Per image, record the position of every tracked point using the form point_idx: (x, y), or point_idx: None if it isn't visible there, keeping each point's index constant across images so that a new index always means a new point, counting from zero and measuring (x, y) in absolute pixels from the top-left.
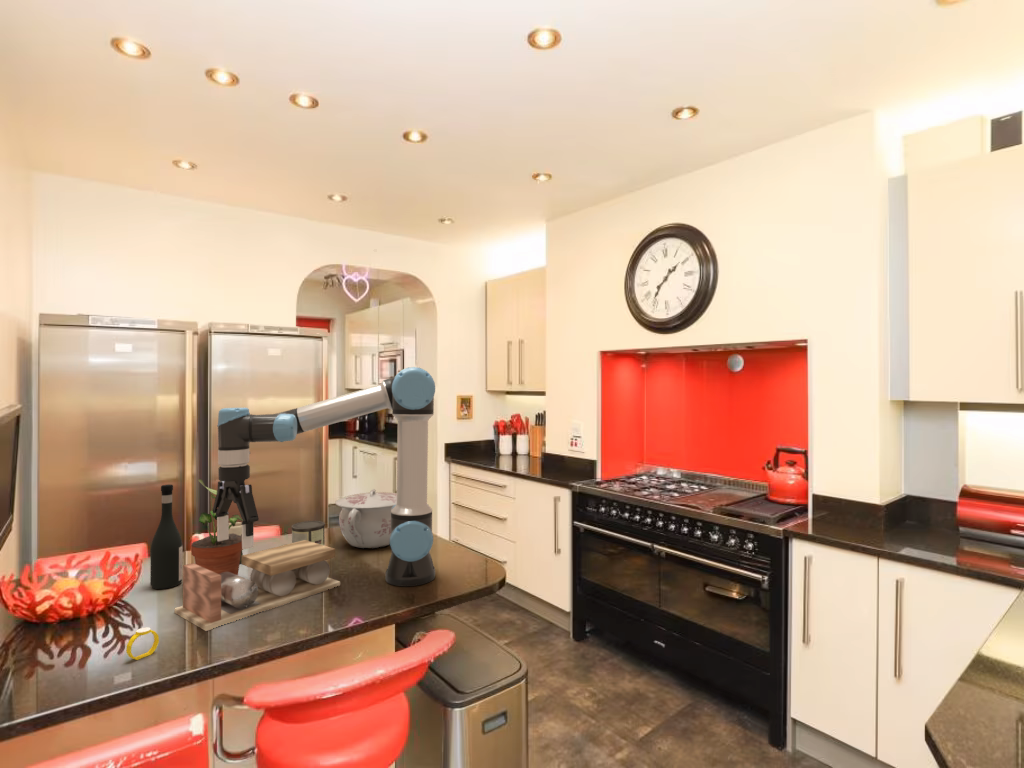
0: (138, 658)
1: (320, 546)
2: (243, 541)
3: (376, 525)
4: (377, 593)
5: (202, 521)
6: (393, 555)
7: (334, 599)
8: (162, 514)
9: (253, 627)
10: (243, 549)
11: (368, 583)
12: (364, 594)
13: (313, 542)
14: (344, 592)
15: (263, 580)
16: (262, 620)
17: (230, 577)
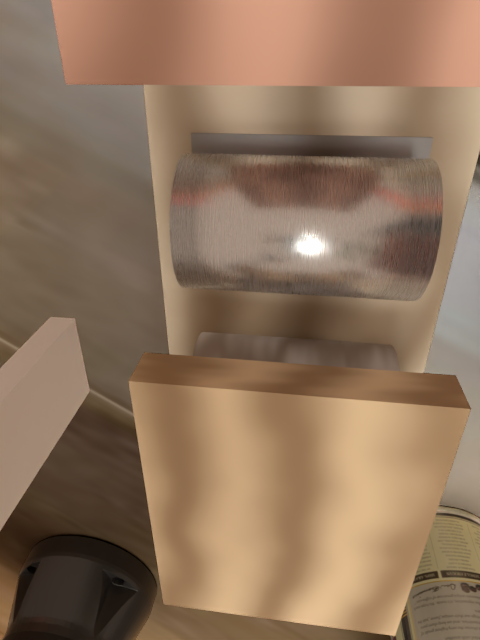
0: None
1: (244, 605)
2: (10, 358)
3: None
4: (52, 489)
5: None
6: (62, 628)
7: (93, 419)
8: None
9: (43, 144)
10: (50, 318)
11: (139, 522)
12: (69, 473)
13: (398, 637)
14: (125, 461)
15: (273, 352)
16: (86, 200)
17: (310, 236)
